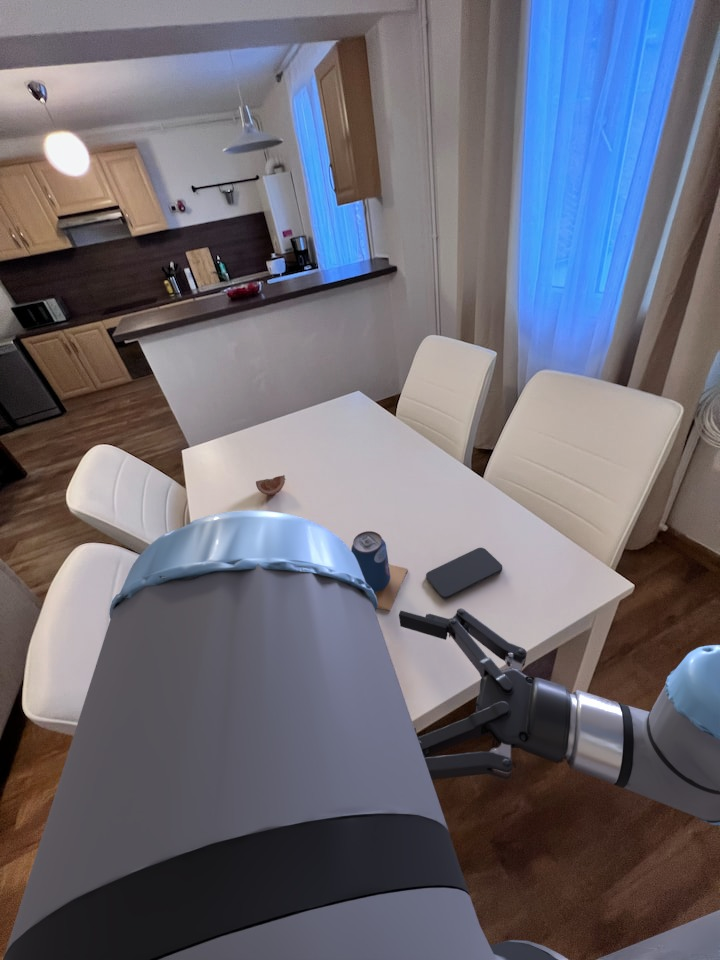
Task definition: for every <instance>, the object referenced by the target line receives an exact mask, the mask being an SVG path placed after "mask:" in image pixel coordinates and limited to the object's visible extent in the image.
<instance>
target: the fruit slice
mask: <svg viewBox="0 0 720 960" xmlns="http://www.w3.org/2000/svg"><path fill="white" fill-rule="evenodd" d="M286 480H287V479H286V476H285V474H283V475H279V476H278V475H277V476H275V477H273V478H265V479H260V480H257V481H255V485H256V488H257V490H258V491H259V492H260V493H261V494H264V495H270V496H273V495H275V494H278V493H280V492H281V490H283V487H284V486H285V483H286Z"/></svg>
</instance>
